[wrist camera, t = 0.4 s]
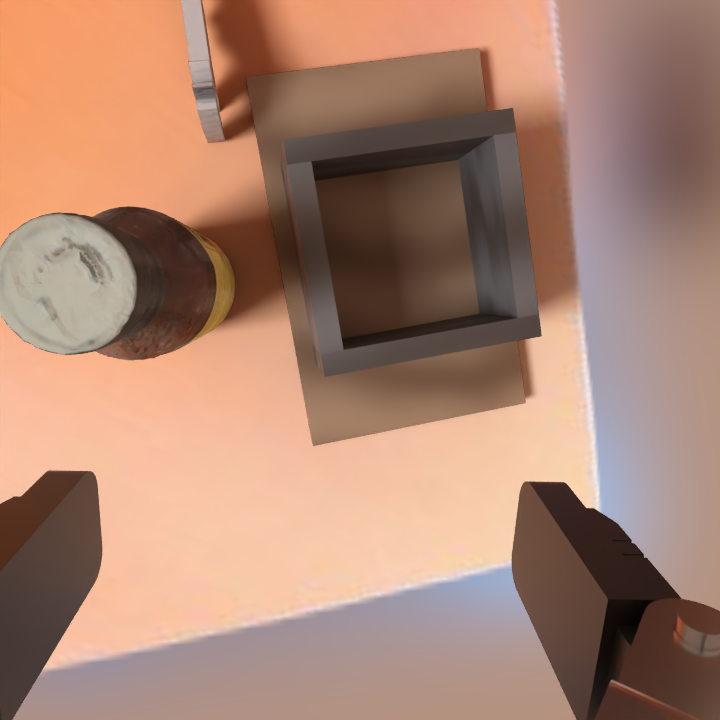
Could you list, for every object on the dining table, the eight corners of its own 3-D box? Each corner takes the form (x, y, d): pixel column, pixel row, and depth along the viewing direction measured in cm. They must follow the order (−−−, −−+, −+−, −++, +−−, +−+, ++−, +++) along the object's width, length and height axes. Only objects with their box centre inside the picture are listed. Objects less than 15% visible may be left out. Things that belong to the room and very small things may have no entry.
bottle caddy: (246, 82, 36) (241, 33, 29) (473, 54, 38) (519, 1, 31) (312, 442, 39) (321, 474, 32) (519, 400, 41) (570, 422, 34)
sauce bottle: (232, 230, 37) (192, 162, 17) (241, 333, 37) (211, 381, 18) (118, 235, 36) (-61, 169, 16) (129, 341, 37) (-29, 400, 17)
